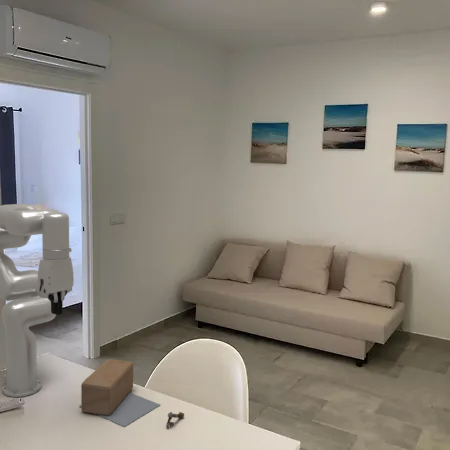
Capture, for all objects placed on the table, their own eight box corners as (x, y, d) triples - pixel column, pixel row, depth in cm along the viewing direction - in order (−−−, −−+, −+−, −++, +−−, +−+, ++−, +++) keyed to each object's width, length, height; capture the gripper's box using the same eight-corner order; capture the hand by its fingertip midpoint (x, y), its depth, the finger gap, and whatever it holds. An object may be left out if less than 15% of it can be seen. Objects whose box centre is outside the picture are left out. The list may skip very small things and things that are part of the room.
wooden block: (109, 386, 154) (134, 360, 173) (80, 382, 156) (107, 357, 175) (109, 417, 156) (134, 388, 175) (80, 412, 157) (107, 384, 177)
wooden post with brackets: (162, 427, 150) (166, 411, 151) (176, 426, 157) (179, 411, 158) (167, 428, 149) (171, 413, 150) (181, 427, 156) (184, 412, 157)
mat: (79, 406, 162) (79, 406, 161) (116, 387, 175) (116, 387, 175) (124, 427, 151) (124, 426, 151) (160, 405, 164) (160, 404, 164)
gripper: (68, 248, 157) (68, 305, 159) (26, 256, 144) (27, 317, 147) (84, 252, 153) (84, 310, 155) (42, 259, 140) (43, 322, 143)
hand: (56, 313), depth 151 cm, fingers closed
